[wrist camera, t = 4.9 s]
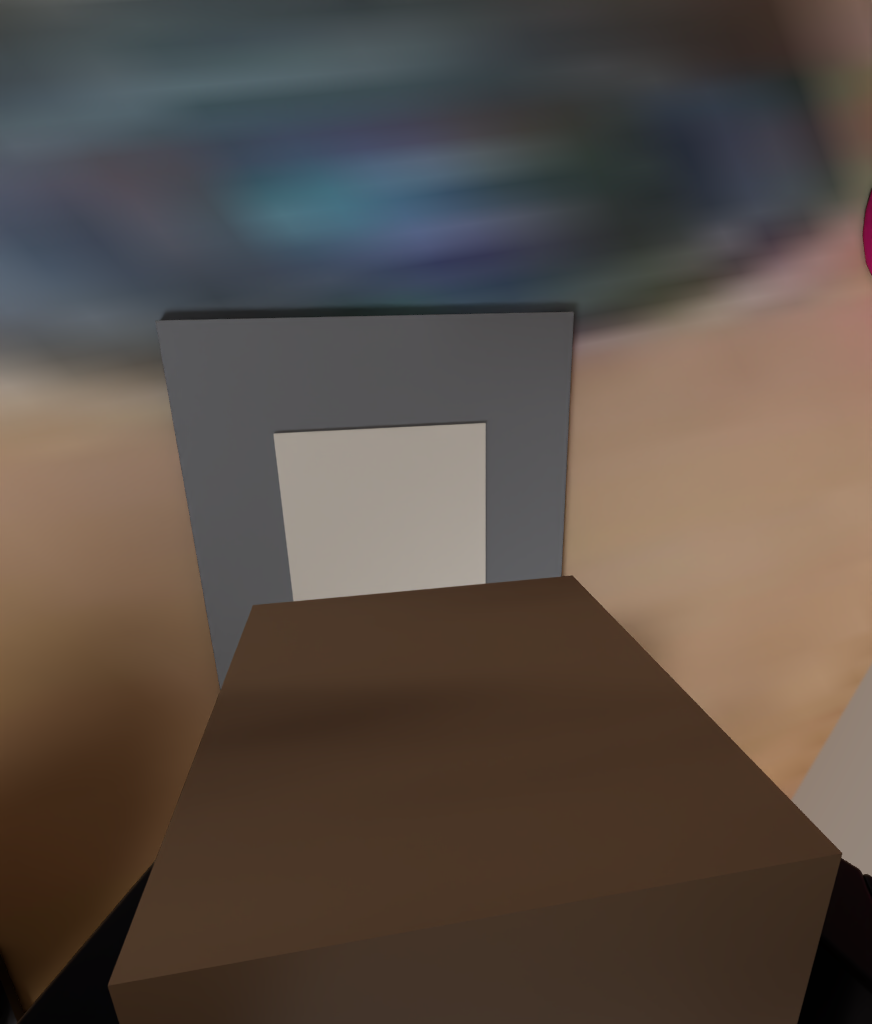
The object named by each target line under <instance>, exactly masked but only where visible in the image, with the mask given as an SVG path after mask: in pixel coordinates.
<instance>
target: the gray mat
mask: <svg viewBox="0 0 872 1024" xmlns="http://www.w3.org/2000/svg"><path fill="white" fill-rule="evenodd" d="M573 319H574V312H538V313H490V314H443V315H396V316H348V317H301V318H253V319H206V320H159V321H156V327H157V333H158V338H159V344H160V350H161V355H162V361H163V367H164V373H165V378H166V384H167V390H168V395H169V401H170V407H171V412H172V418H173V424H174V429H175V435H176V441H177V447H178V452H179V458H180V464H181V469H182V475H183V481H184V486H185V492H186V498H187V503H188V509H189V515H190V520H191V526H192V532H193V538H194V543H195V549H196V555H197V560H198V566H199V572H200V577H201V583H202V589H203V594H204V600H205V606H206V612H207V617H208V623H209V629H210V634H211V640H212V646H213V651H214V657H215V663H216V668H217V674H218V680H219V685H220V690H221V687H222V685H223V682H224V680H225V677H226V674H227V672H228V669H229V667H230V664H231V661H232V659H233V656H234V653H235V651H236V648H237V646H238V643H239V640H240V638H241V635H242V632H243V630H244V627H245V625H246V622H247V619H248V617H249V614H250V612H251V609H252V606H253V605H259V604H270V603H281V602H292V601H303V600H313V599H324V598H335V597H346V596H357V595H367V594H378V593H389V592H400V591H411V590H421V589H432V588H443V587H454V586H465V585H475V584H486V583H497V582H508V581H519V580H529V579H540V578H551V577H561V573H562V552H563V530H564V509H565V488H566V467H567V446H568V425H569V404H570V383H571V362H572V341H573Z"/></svg>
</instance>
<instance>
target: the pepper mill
mask: <svg viewBox="0 0 872 1024" xmlns="http://www.w3.org/2000/svg"><path fill="white" fill-rule="evenodd" d="M863 242H864V251H865V259H866V264H867V266H868V268H869V271H870V273H871V275H872V190H871V194H870V197H869V201H868V204H867V208H866V212H865V220H864V229H863Z"/></svg>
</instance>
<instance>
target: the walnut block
mask: <svg viewBox="0 0 872 1024" xmlns="http://www.w3.org/2000/svg"><path fill="white" fill-rule="evenodd" d="M841 856H842V852H840V850H839V849H838V848H837V847H836V846H835V845H834V844H833V843H832V842H831V841H830V840H829V839H828V838H827V837H826V836H825V835H824V834H823V833H822V832H821V831H820V830H819V829H818V828H817V827H816V826H815V825H814V824H813V823H812V822H811V821H810V820H809V818H807V816H805V814H804V813H803V812H802V811H801V810H800V809H799V808H798V807H797V806H796V805H795V804H794V803H793V802H792V801H791V800H790V799H789V798H788V797H787V796H786V795H785V794H784V793H783V792H782V791H781V790H780V789H779V788H778V787H777V786H776V785H775V784H774V782H773V781H772V780H771V779H770V778H769V777H768V776H767V775H766V774H765V773H764V772H763V771H762V770H761V769H760V768H759V767H758V766H757V765H756V764H755V763H754V762H753V761H752V760H751V759H750V758H749V757H748V756H747V755H746V754H745V753H744V752H743V751H742V750H741V749H740V748H739V746H738V745H737V744H736V743H735V742H734V741H733V740H732V739H731V738H730V737H729V736H728V735H727V734H726V733H725V732H724V731H723V730H722V729H721V728H720V727H719V726H718V725H717V724H716V723H715V722H714V721H713V720H712V719H711V718H710V717H709V716H708V715H707V714H706V713H705V711H704V710H703V709H702V708H701V707H700V706H699V705H698V704H697V703H696V702H695V701H694V700H693V699H692V698H691V697H690V696H689V695H688V694H687V693H686V692H685V691H684V690H683V689H682V688H681V687H680V686H679V685H678V684H677V683H676V682H675V681H674V680H673V679H672V678H671V677H670V675H669V674H668V673H667V672H666V671H665V670H664V669H663V668H662V667H661V666H660V665H659V664H658V663H657V662H656V661H655V660H654V659H653V658H652V657H651V656H650V655H649V654H648V653H647V652H646V651H645V650H644V649H643V648H642V647H641V646H640V645H639V644H638V643H637V642H636V641H635V639H634V638H633V637H632V636H631V635H630V634H629V633H628V632H627V631H626V630H625V629H624V628H623V627H622V626H621V625H620V624H619V623H618V622H617V621H616V620H615V619H614V618H613V617H612V616H611V615H610V614H609V613H608V612H607V611H606V610H605V609H604V608H603V607H602V606H601V604H600V603H599V602H598V601H597V600H596V599H595V598H594V597H593V596H592V595H591V594H590V593H589V592H588V591H587V590H586V589H585V588H584V587H583V586H582V585H581V584H580V583H579V582H578V581H577V580H576V579H575V578H574V577H573V576H562V577H551V578H540V579H529V580H519V581H508V582H497V583H486V584H475V585H465V586H454V587H443V588H432V589H421V590H411V591H400V592H389V593H378V594H367V595H357V596H346V597H335V598H324V599H313V600H303V601H292V602H281V603H270V604H259V605H253V606H252V609H251V612H250V614H249V617H248V619H247V622H246V625H245V627H244V630H243V632H242V635H241V638H240V640H239V643H238V646H237V648H236V651H235V653H234V656H233V659H232V661H231V664H230V667H229V669H228V672H227V674H226V677H225V680H224V682H223V685H222V687H221V690H220V693H219V695H218V698H217V701H216V703H215V706H214V708H213V711H212V714H211V716H210V719H209V722H208V724H207V727H206V729H205V732H204V735H203V737H202V740H201V742H200V745H199V748H198V750H197V753H196V756H195V758H194V761H193V763H192V766H191V769H190V771H189V774H188V777H187V779H186V782H185V784H184V787H183V790H182V792H181V795H180V797H179V800H178V803H177V805H176V808H175V811H174V813H173V816H172V818H171V821H170V824H169V826H168V829H167V832H166V834H165V837H164V839H163V842H162V845H161V847H160V850H159V852H158V855H157V858H156V860H155V863H154V866H153V868H152V871H151V873H150V876H149V879H148V881H147V884H146V887H145V889H144V892H143V894H142V897H141V900H140V902H139V905H138V907H137V910H136V913H135V915H134V918H133V921H132V923H131V926H130V928H129V931H128V934H127V936H126V939H125V942H124V944H123V947H122V949H121V952H120V955H119V957H118V960H117V962H116V965H115V968H114V970H113V973H112V976H111V978H110V981H109V983H108V989H109V992H110V995H111V998H112V1002H113V1005H114V1008H115V1011H116V1014H117V1018H118V1021H119V1024H797V1023H798V1019H799V1015H800V1011H801V1007H802V1004H803V1000H804V996H805V992H806V989H807V985H808V981H809V977H810V973H811V970H812V966H813V962H814V958H815V955H816V951H817V947H818V943H819V939H820V936H821V932H822V928H823V924H824V921H825V917H826V913H827V909H828V905H829V902H830V898H831V894H832V890H833V887H834V883H835V879H836V875H837V871H838V868H839V864H840V860H841Z"/></svg>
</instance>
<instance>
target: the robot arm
mask: <svg viewBox="0 0 872 1024" xmlns="http://www.w3.org/2000/svg"><path fill="white" fill-rule="evenodd" d="M154 863H155V861H154V862H153V863H152V865H151V866H150V867H149V868H148V869H147V871H146V872H145V873H144V874H143V875H142V876H141V878H140V879H139V880H138V881H137V882H136V883H135V885H134V886H133V887H132V888H131V889H130V890H129V892H128V893H127V894H126V895H125V896H124V898H123V899H122V900H121V901H120V902H119V903H118V905H117V906H116V907H115V908H114V909H113V910H112V912H111V913H110V914H109V915H108V916H107V918H106V919H105V920H104V921H103V922H102V923H101V925H100V926H99V927H98V928H97V929H96V930H95V932H94V933H93V934H92V935H91V936H90V938H89V939H88V940H87V941H86V942H85V943H84V945H83V946H82V947H81V948H80V949H79V950H78V952H77V953H76V954H75V955H74V956H73V957H72V959H71V960H70V961H69V962H68V963H67V965H66V966H65V967H64V968H63V969H62V970H61V972H60V973H59V974H58V975H57V976H56V977H55V979H54V980H53V981H52V982H51V983H50V985H49V986H48V987H47V988H46V989H45V990H44V992H43V993H42V994H41V995H40V996H39V997H38V999H37V1000H36V1001H35V1002H34V1003H33V1005H32V1006H31V1007H30V1008H29V1009H28V1010H27V1012H26V1013H25V1014H24V1013H23V1010H22V1007H21V1005H20V1002H19V1000H18V997H17V995H16V992H15V989H14V987H13V984H12V982H11V979H10V977H9V974H8V972H7V969H6V966H5V964H4V961H3V959H2V956H1V955H0V1024H119V1021H118V1018H117V1014H116V1011H115V1008H114V1005H113V1002H112V998H111V995H110V992H109V989H108V983H109V981H110V978H111V976H112V973H113V970H114V968H115V965H116V962H117V960H118V957H119V955H120V952H121V949H122V947H123V944H124V942H125V939H126V936H127V934H128V931H129V928H130V926H131V923H132V921H133V918H134V915H135V913H136V910H137V907H138V905H139V902H140V900H141V897H142V894H143V892H144V889H145V887H146V884H147V881H148V879H149V876H150V873H151V871H152V868H153V866H154ZM797 1024H872V877H871V876H870V875H868V874H864V875H863V874H862V872H861V871H860V870H859V869H858V868H857V867H855V866H853V865H851V864H850V863H848V862H847V861H845V860H844V859H842V858H841V860H840V864H839V868H838V871H837V875H836V879H835V883H834V887H833V890H832V894H831V898H830V902H829V905H828V909H827V913H826V917H825V921H824V924H823V928H822V932H821V936H820V939H819V943H818V947H817V951H816V955H815V958H814V962H813V966H812V970H811V973H810V977H809V981H808V985H807V989H806V992H805V996H804V1000H803V1004H802V1007H801V1011H800V1015H799V1019H798V1023H797Z"/></svg>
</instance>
